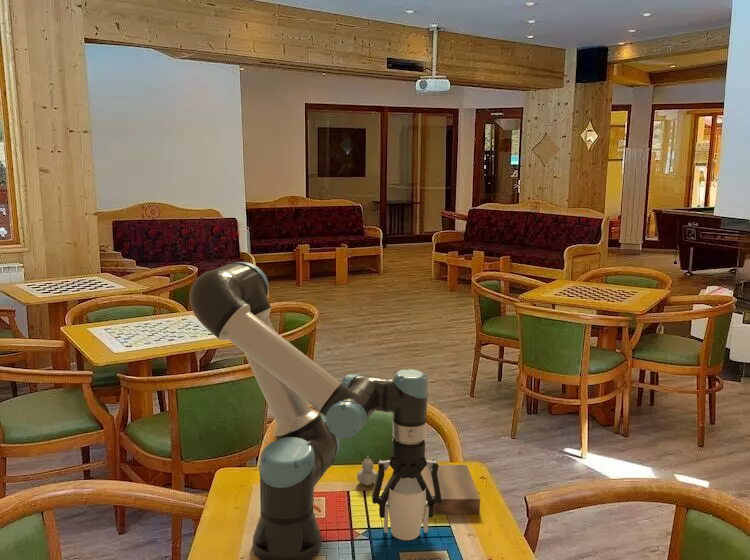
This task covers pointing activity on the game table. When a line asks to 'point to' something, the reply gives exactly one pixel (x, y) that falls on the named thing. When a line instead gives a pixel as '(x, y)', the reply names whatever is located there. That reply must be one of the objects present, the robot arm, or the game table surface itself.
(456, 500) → the walnut base
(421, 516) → the cup
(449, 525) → the game table surface
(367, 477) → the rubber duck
